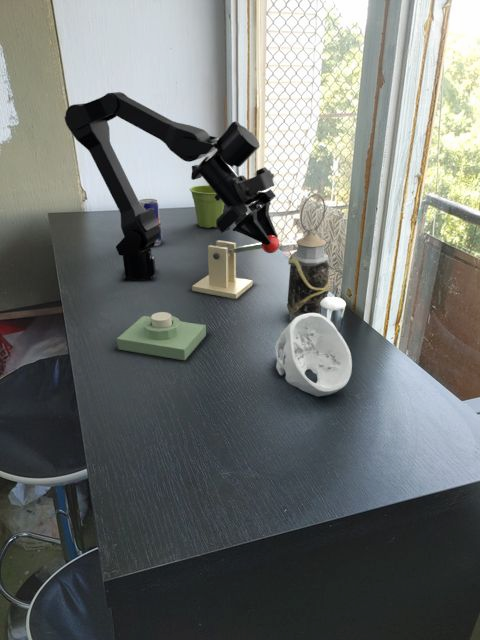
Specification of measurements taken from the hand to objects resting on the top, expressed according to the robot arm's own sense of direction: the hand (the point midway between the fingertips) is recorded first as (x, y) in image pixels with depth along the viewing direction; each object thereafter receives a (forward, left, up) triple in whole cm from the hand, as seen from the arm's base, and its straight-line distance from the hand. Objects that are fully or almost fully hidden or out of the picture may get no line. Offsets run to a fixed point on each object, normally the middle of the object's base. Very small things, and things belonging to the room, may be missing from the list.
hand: (272, 241), depth 110 cm
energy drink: (-31, +38, -13) cm, 51 cm away
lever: (-5, +2, -4) cm, 7 cm away
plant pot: (-15, +57, -13) cm, 61 cm away
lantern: (+6, -12, -13) cm, 18 cm away
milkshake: (+9, -22, -13) cm, 27 cm away
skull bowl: (+3, -35, -13) cm, 37 cm away
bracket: (-11, +5, -13) cm, 17 cm away
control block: (-22, -21, -13) cm, 33 cm away
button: (-22, -21, -9) cm, 31 cm away
